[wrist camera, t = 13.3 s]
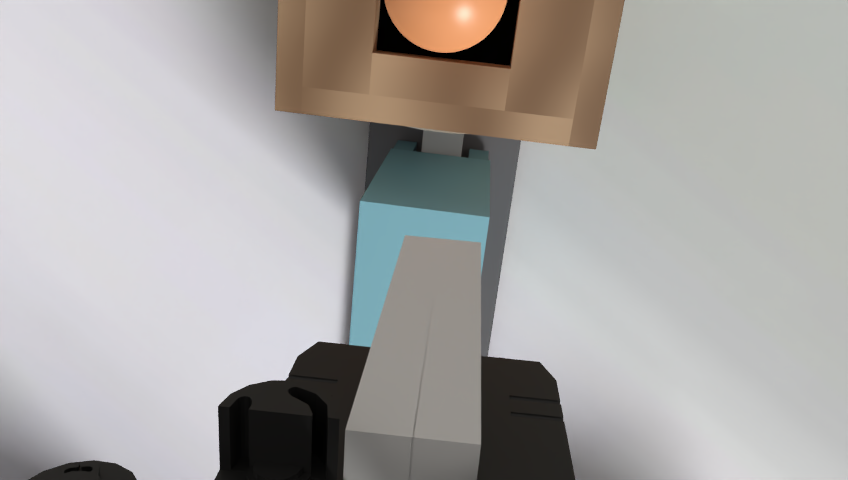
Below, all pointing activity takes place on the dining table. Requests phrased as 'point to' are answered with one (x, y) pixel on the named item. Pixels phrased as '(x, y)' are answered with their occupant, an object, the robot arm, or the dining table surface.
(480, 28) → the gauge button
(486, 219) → the block
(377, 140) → the rail
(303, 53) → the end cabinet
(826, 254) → the dining table surface
